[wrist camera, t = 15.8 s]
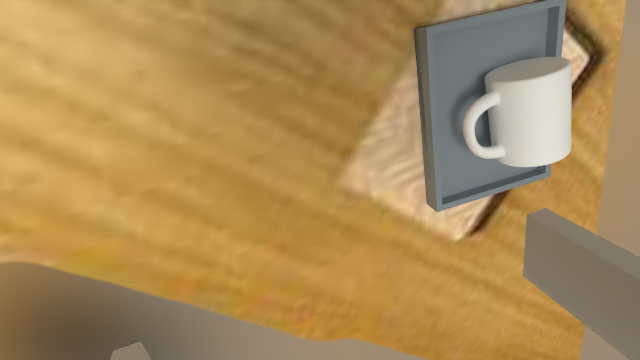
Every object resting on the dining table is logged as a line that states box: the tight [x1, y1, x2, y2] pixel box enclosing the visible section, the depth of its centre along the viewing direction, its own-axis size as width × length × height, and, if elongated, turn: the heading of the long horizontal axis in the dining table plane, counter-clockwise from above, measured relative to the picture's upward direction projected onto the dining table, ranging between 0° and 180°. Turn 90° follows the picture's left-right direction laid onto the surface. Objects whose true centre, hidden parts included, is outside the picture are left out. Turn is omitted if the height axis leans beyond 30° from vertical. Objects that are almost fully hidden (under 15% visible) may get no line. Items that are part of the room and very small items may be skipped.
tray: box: [414, 0, 566, 212], centre depth 42 cm, size 22×17×2 cm
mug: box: [463, 57, 572, 167], centre depth 39 cm, size 12×10×8 cm
